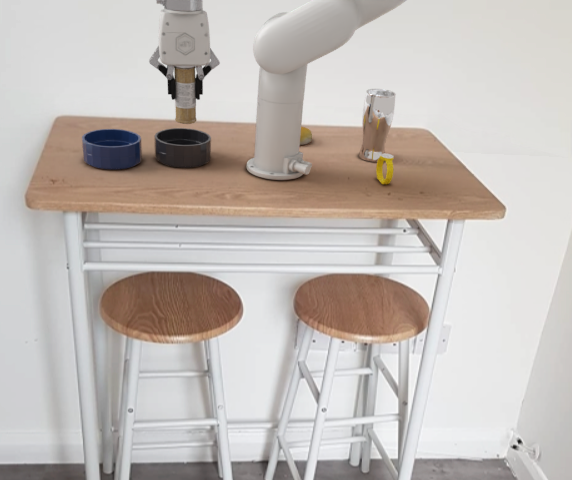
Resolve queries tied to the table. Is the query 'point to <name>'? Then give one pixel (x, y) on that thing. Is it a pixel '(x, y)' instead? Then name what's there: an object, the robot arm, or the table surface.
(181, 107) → the sprinkles bottle
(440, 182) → the table surface
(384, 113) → the beer glass
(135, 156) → the navy bowl
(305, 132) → the bread roll
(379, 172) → the watch
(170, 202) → the table surface
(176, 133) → the charcoal bowl
